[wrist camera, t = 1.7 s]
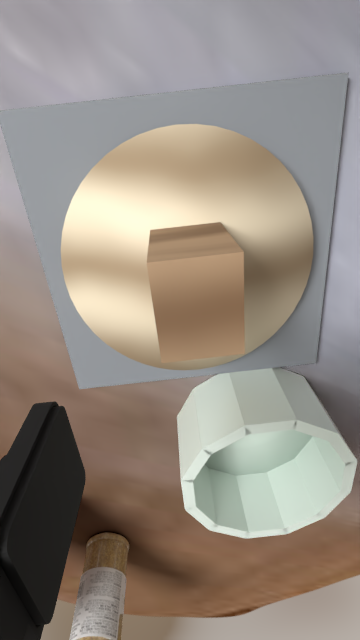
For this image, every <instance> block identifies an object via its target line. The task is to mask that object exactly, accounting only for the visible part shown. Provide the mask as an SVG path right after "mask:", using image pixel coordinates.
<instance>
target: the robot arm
mask: <svg viewBox="0 0 360 640" xmlns="http://www.w3.org/2000/svg"><path fill="white" fill-rule="evenodd" d="M84 485H85V470H84V467H83V463H82V460H81V457H80V454H79V451H78V448H77V445H76V442H75V438H74V435H73V432H72V429H71V426H70V423H69V420H68V417H67V414H66V410H65V408H64V407H63V406H59V405H58V404H57V402H46V403H36V404H34V405H33V406H32V408H31V410H30V412H29V414H28V416H27V418H26V419H25V421H24V423H23V425H22V427H21V429H20V431H19V433H18V435H17V437H16V439H15V441H14V442H13V444H12V446H11V448H10V450H9V452H8V454H7V455H5V456H4V457H3V458H2V459H1V460H0V640H40V639H41V634H42V631H43V627H44V624H49V623H50V621H51V619H52V617H53V613H54V609H55V605H56V601H57V597H58V593H59V589H60V585H61V580H62V576H63V572H64V568H65V564H66V560H67V556H68V551H69V547H70V543H71V539H72V535H73V531H74V527H75V522H76V518H77V514H78V510H79V506H80V502H81V498H82V493H83V489H84Z"/></svg>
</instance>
